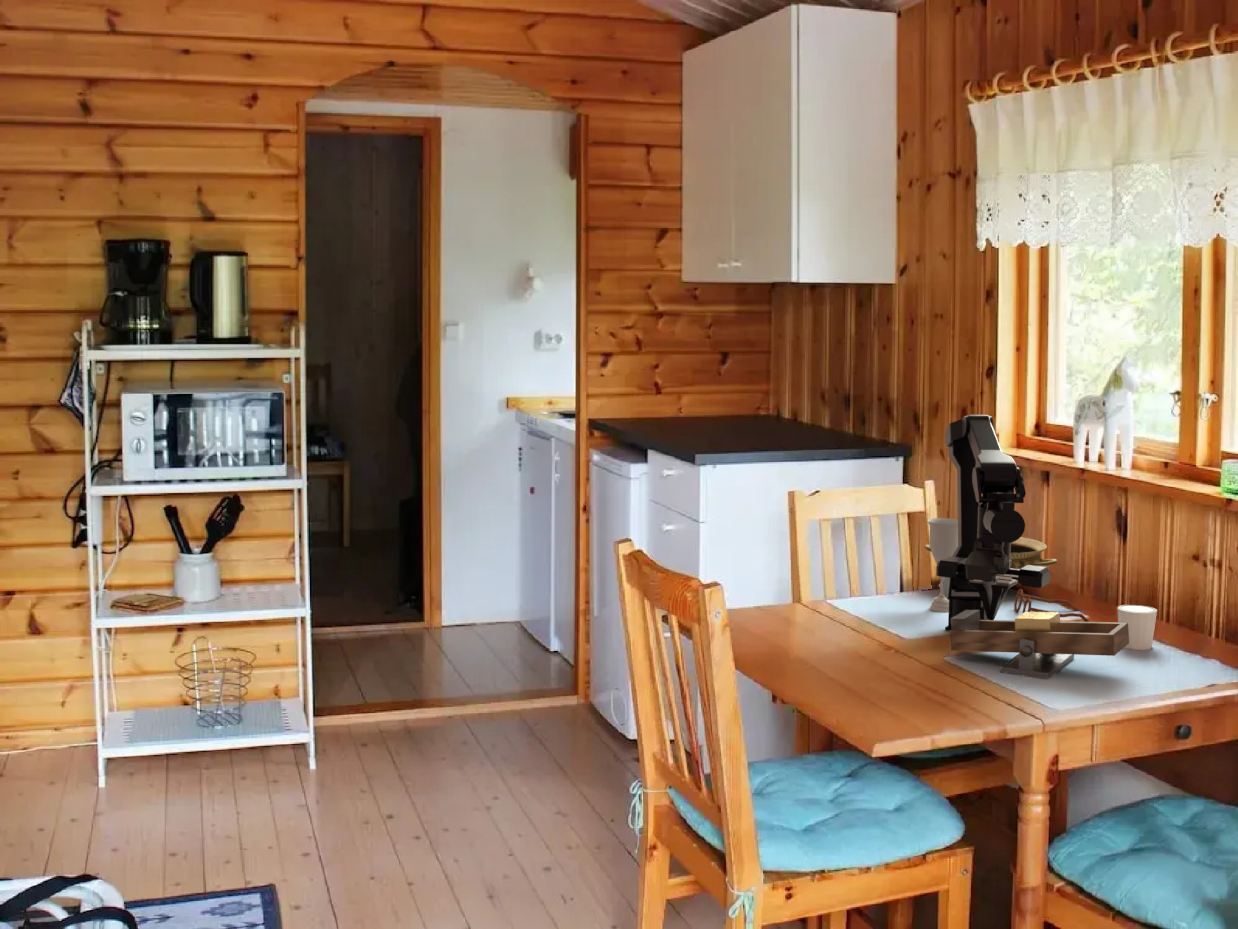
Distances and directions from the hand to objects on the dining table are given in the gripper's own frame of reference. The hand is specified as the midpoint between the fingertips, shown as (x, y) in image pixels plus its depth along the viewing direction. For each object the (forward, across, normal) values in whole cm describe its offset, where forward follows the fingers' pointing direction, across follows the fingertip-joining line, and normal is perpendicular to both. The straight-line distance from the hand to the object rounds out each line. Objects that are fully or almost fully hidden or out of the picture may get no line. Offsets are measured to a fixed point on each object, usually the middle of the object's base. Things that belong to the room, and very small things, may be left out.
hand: (991, 620), depth 257 cm
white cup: (+7, +20, +23) cm, 31 cm away
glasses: (+8, 0, +37) cm, 38 cm away
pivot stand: (+7, +8, 0) cm, 11 cm away
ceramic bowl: (+7, -20, +57) cm, 61 cm away
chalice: (+7, -20, +32) cm, 39 cm away
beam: (+3, +8, 0) cm, 9 cm away
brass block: (+2, +8, 0) cm, 9 cm away
